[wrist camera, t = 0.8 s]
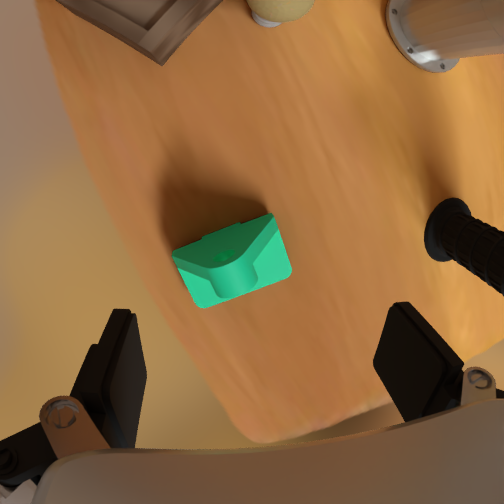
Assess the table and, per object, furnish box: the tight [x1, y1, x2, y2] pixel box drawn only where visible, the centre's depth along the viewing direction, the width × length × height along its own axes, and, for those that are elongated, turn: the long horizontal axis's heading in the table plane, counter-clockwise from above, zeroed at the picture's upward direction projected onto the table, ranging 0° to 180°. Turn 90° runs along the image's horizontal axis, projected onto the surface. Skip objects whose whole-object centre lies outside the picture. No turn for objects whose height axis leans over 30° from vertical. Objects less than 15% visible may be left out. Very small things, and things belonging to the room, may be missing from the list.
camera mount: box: [172, 213, 292, 308], centre depth 34 cm, size 12×8×10 cm, turn 109°
